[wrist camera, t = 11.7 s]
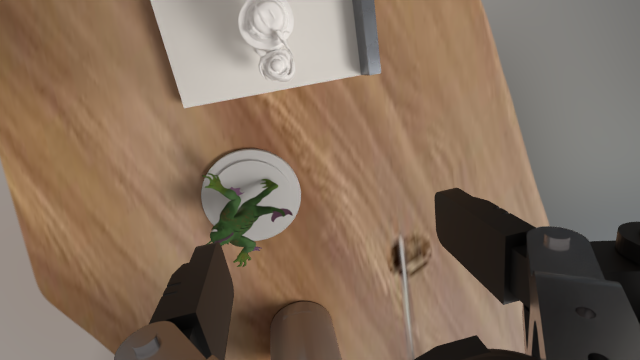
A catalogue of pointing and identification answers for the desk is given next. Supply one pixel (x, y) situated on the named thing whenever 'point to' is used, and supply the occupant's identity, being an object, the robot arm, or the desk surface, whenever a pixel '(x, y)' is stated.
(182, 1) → the shelf board
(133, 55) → the desk surface
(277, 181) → the monster figurine
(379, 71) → the rail
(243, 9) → the white toy figure
